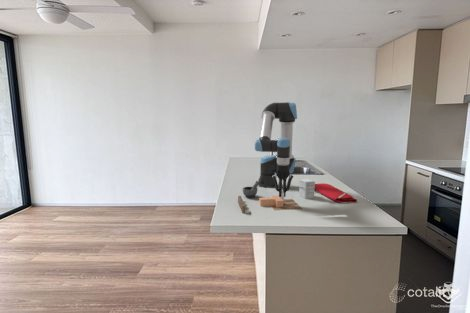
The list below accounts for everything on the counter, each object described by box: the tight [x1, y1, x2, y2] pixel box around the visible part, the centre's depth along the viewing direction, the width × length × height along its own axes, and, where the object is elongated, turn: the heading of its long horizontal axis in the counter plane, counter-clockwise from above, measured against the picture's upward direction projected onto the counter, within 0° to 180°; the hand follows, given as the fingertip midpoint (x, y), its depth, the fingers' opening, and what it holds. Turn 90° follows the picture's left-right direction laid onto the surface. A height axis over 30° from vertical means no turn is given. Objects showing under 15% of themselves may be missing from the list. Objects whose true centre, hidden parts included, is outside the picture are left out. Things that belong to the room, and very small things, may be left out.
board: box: [237, 195, 303, 214], centre depth 178 cm, size 20×36×4 cm, turn 96°
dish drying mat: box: [314, 182, 358, 203], centre depth 207 cm, size 16×41×4 cm, turn 8°
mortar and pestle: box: [242, 180, 259, 199], centre depth 194 cm, size 11×9×12 cm
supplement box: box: [298, 178, 316, 200], centre depth 194 cm, size 7×7×13 cm
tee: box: [258, 194, 283, 207], centre depth 178 cm, size 11×13×4 cm
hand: (282, 202), depth 179 cm, fingers closed
